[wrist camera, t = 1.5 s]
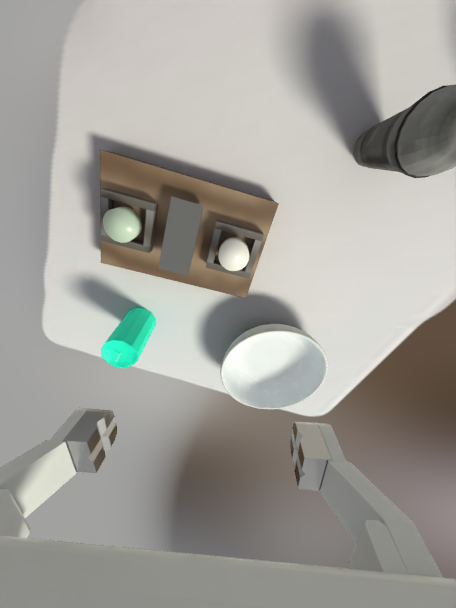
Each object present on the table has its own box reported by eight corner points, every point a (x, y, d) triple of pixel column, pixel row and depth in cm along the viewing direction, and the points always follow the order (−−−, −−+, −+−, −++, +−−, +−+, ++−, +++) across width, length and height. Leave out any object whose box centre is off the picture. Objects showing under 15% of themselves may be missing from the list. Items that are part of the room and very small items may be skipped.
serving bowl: (335, 349, 50) (350, 372, 44) (265, 396, 58) (269, 421, 52) (271, 291, 43) (278, 310, 37) (202, 353, 51) (198, 376, 45)
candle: (131, 333, 48) (104, 376, 38) (122, 308, 45) (89, 348, 35) (159, 330, 48) (139, 373, 37) (151, 305, 45) (127, 345, 35)
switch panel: (110, 152, 33) (92, 148, 28) (274, 201, 36) (280, 205, 31) (109, 256, 40) (95, 266, 36) (244, 290, 43) (246, 303, 39)
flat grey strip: (172, 198, 32) (171, 196, 31) (203, 206, 32) (203, 205, 31) (159, 267, 34) (158, 268, 33) (188, 274, 35) (187, 275, 34)
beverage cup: (337, 136, 31) (470, 86, 14) (392, 101, 30) (624, -5, 12) (351, 187, 34) (475, 199, 17) (402, 159, 33) (599, 139, 15)
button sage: (111, 202, 31) (102, 204, 29) (143, 211, 32) (137, 214, 30) (110, 234, 34) (102, 237, 31) (140, 241, 34) (135, 246, 32)
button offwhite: (223, 233, 33) (222, 237, 31) (252, 241, 34) (253, 245, 32) (216, 261, 35) (215, 266, 33) (243, 268, 36) (244, 274, 34)
